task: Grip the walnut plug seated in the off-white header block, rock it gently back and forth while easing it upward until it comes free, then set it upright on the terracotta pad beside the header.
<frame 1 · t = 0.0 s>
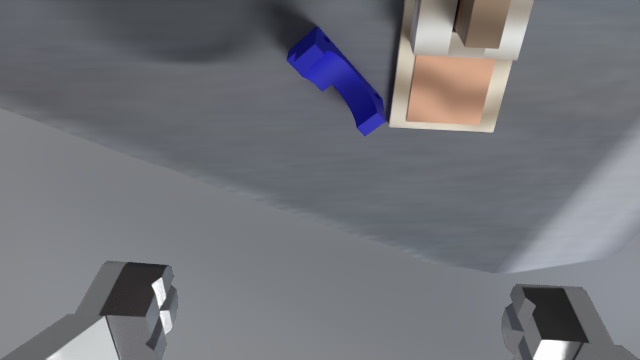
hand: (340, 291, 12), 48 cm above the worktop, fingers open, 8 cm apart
cable clip: (336, 74, 60), on the worktop
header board: (456, 41, 57), on the worktop
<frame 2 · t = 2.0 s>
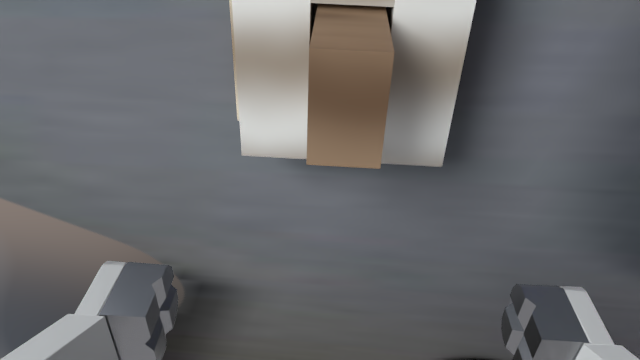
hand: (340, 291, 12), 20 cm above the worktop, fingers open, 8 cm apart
plug: (348, 38, 28), point 1 cm above the worktop, touching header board
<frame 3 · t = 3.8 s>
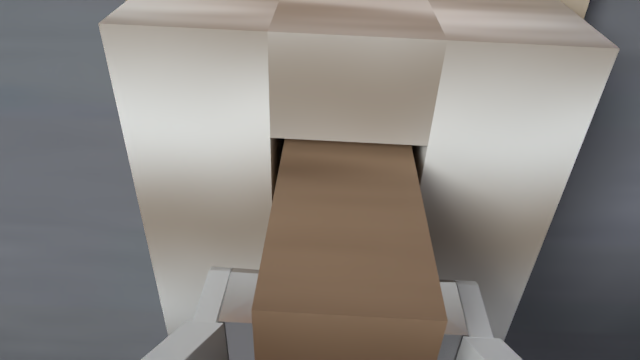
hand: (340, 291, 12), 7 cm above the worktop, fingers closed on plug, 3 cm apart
plug: (342, 154, 17), point 1 cm above the worktop, touching gripper, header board
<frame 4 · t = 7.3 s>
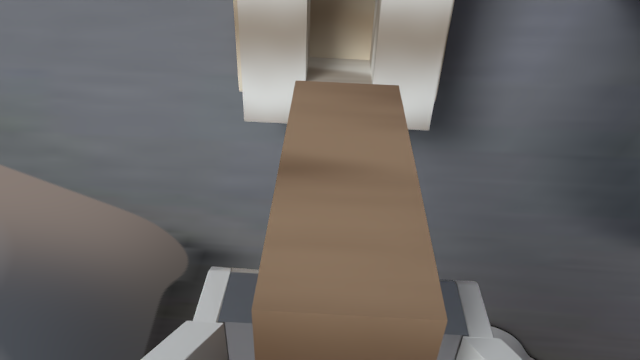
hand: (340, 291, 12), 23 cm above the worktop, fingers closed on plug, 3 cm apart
plug: (342, 153, 17), point 17 cm above the worktop, touching gripper
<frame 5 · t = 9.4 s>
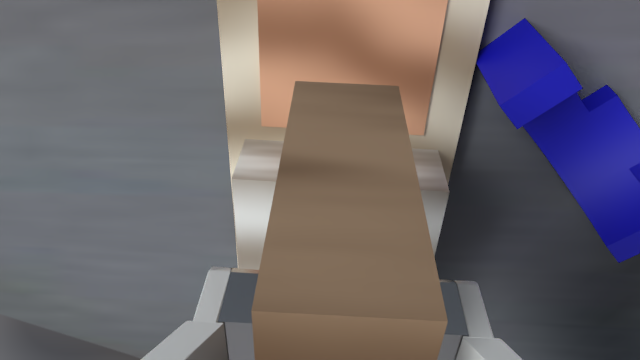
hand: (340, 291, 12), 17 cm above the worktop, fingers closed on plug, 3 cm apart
cable clip: (564, 105, 28), on the worktop
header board: (341, 135, 29), on the worktop
plug: (341, 154, 17), point 11 cm above the worktop, touching gripper
when the fingers open (9 cm above the worktop, at t = 11.1 s): plug drops 2 cm, resting on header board.
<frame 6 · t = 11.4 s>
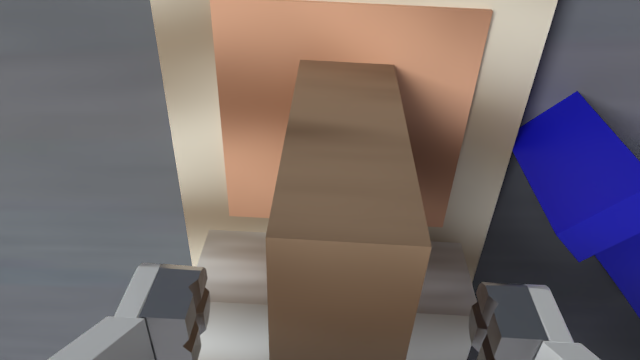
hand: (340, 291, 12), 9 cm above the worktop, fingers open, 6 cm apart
cable clip: (621, 193, 22), on the worktop
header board: (334, 221, 23), on the worktop
plug: (341, 129, 18), point 1 cm above the worktop, touching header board
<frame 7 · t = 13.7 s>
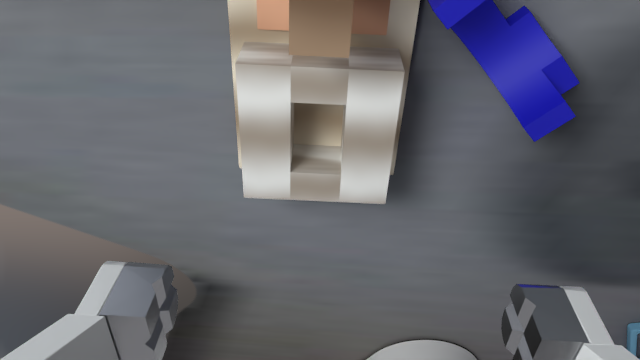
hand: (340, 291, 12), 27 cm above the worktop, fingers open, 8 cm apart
cable clip: (494, 25, 36), on the worktop
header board: (321, 40, 36), on the worktop
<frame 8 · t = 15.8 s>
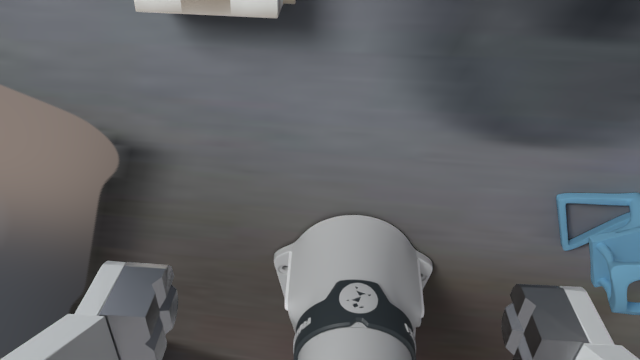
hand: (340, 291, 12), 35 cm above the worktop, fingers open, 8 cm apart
chair: (597, 211, 54), on the worktop
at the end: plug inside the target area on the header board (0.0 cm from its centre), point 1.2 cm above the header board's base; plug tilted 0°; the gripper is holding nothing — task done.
